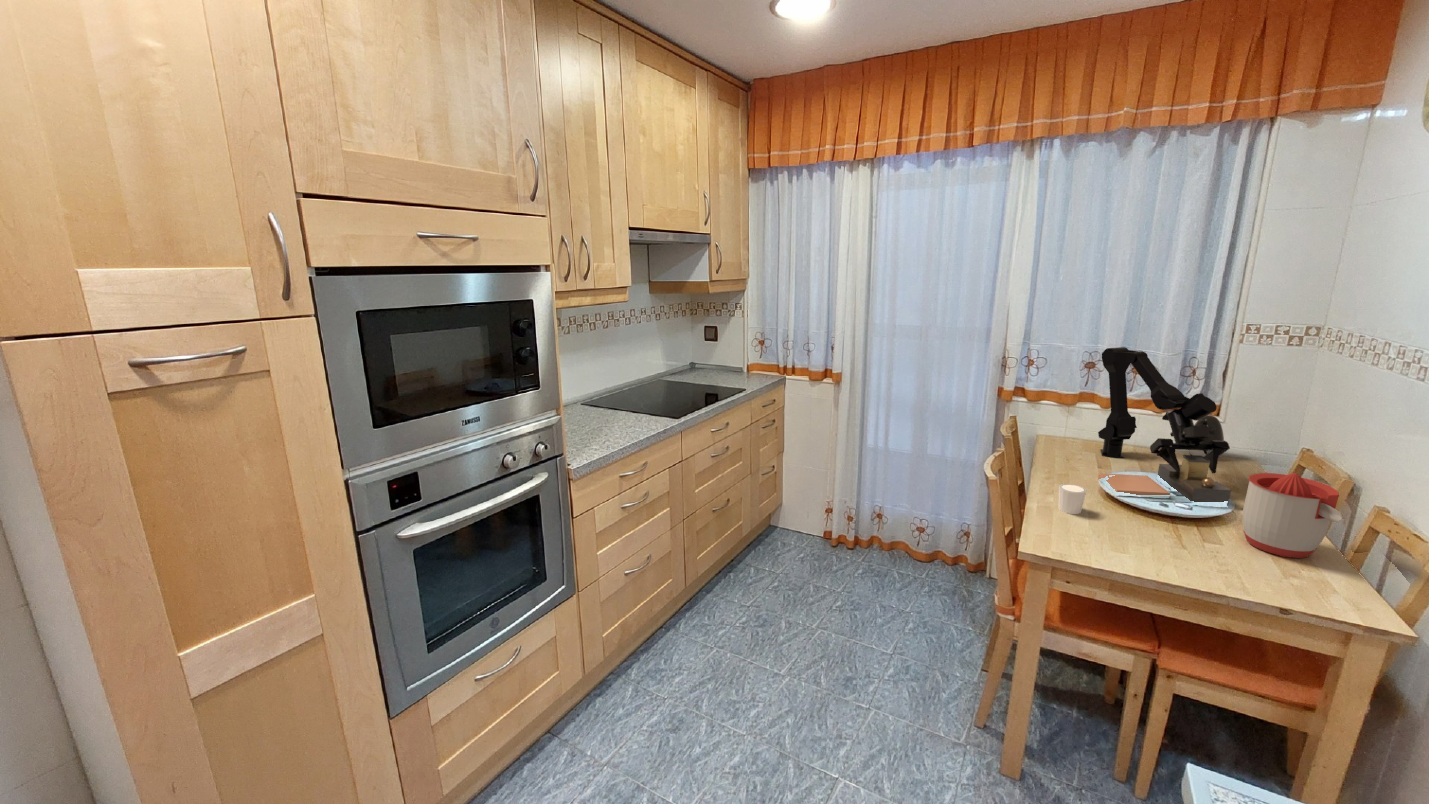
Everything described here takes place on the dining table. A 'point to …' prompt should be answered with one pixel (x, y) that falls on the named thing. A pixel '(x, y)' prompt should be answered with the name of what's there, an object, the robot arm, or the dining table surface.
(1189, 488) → the body
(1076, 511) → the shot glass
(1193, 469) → the tan wooden block
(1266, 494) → the citrus juicer
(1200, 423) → the dark grey egg shape
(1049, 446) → the dining table surface
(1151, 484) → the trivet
